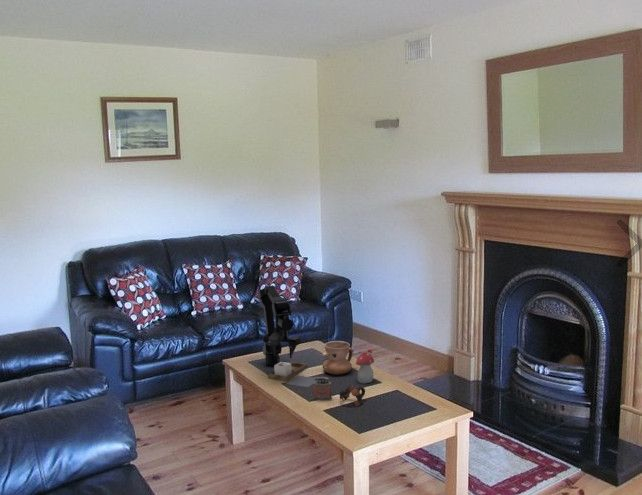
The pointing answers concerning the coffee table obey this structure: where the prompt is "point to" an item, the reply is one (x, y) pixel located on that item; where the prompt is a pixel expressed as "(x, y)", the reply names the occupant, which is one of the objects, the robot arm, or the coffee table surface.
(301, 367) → the tray
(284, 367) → the letter cube
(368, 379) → the decorative ornament
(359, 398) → the brown irregular piece
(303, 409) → the coffee table surface
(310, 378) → the pad
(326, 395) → the lighter
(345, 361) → the ceramic jug
